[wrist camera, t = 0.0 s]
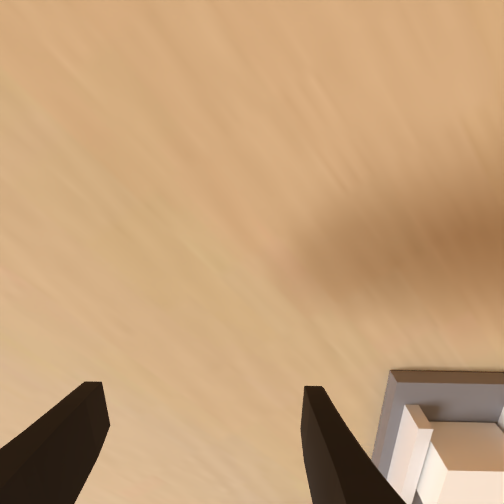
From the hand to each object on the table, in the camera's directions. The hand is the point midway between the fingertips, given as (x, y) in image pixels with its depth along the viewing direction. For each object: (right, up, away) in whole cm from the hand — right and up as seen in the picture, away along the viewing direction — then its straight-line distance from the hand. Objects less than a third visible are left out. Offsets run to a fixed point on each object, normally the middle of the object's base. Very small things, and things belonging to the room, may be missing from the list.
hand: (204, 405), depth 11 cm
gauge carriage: (+18, -11, +13) cm, 24 cm away
